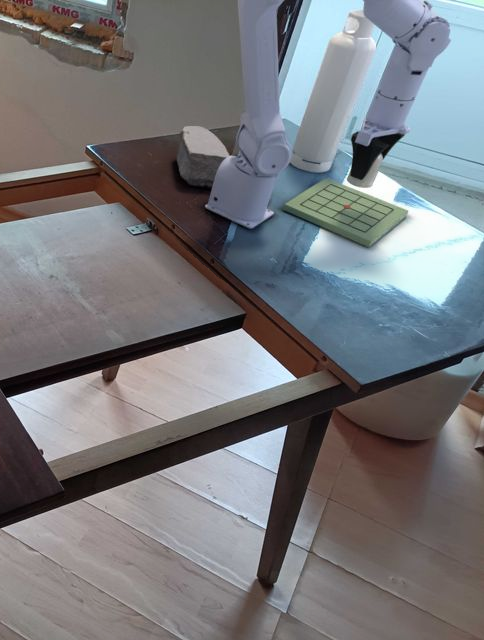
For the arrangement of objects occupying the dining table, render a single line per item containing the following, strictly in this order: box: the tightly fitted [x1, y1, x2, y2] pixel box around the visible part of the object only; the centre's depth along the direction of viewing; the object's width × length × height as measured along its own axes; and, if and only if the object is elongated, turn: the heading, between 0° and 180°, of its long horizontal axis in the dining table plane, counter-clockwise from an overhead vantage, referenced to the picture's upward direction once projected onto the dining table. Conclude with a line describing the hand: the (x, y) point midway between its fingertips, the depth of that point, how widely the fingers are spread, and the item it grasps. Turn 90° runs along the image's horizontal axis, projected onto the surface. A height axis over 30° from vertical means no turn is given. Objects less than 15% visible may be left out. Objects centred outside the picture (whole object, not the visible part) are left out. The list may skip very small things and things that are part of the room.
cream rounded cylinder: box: [346, 154, 384, 189], centre depth 116 cm, size 4×4×6 cm
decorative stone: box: [176, 125, 230, 189], centre depth 129 cm, size 15×7×10 cm
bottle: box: [289, 9, 377, 173], centre depth 128 cm, size 8×8×28 cm
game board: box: [282, 177, 409, 248], centre depth 122 cm, size 16×16×1 cm
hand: (362, 173), depth 117 cm, fingers closed on cream rounded cylinder, 4 cm apart
